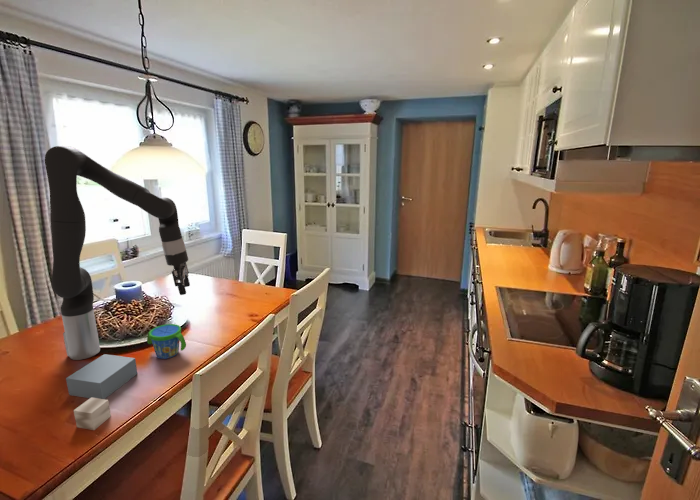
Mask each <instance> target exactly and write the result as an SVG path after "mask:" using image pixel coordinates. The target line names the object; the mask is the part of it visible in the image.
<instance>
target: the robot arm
mask: <svg viewBox="0 0 700 500" xmlns="http://www.w3.org/2000/svg"><path fill="white" fill-rule="evenodd" d="M44 166H45V171H46V176H47V181H48V188H49V207H50V208H49V209H50V213H49V214H50V218H49V219H50V233H51V247H52V248H51V249H52V256H53V258H52V259H53V261H52V273H51V289H52V290H53V292H54V294H55V295H56V296H58V297H59V298H62V303H61V305H60V313H61V318H62V319H61V320H62V324H63V330H64V331H63V333H62V335H63V341H64V344H65V345H64V346H65V350H66V355H67V357H69V359H71V360H73V361H79V360H80V361H81V360H85V359H89V358H91V357H95V356H96V355H97V354H99V353H100V351H101V346H100V340H99V334H98V329H97V322H96V317H95V312H94V311H95V310H94V296H95V295H94V290H93V287H94V286H93V280H92V277H91V275H90V273H89V272H88V270H86V269H85V268H84V267H81V266H80V265H81V264H80V261H81V259H80V258H81V254H82V253H81V252H82V251H83V246H84V243H85V239H86V230H87V226H86V214H85V211H84V207H83V205H82V203H81V200H80V197H79V195H78V188H77V186H78V185H77V181H78V177H81V178H84V179H86V180H90V181H91V182H94V183H96V184H98V185H99V186H101V187H103V188H104V189H105V190H107V191H108V192H110V193H111V194H113V195H115V196H116V197H118V198H119V199H122V200H124V201H126V202H128V203H130V204H132V205H134V206H137V207H138V208H140V209H141V210H143V211H144V212H146V213H147V214H149V215H151V216H153V217H154V218H157V219H158V222H159V227H158V233H159V236H160V237H159V238H160V241H161V244H162V245H161V247H162V250H163V254H164V258H165V261H166V265H167V266H170V267H172V266H173V270H171V275H172V279H173V282H174V286H175V287H177V290H178V292H179V295H180V296H184V295H186V294H187V290H186V287H190V286H191V284H190V279H189V273H190V272H189V269H188V264H187V262H188V261H189V257H188V252H187V249H186V245H185V242H184V239H183V236H182V232H181V228H180V224H179V216H178V209H177V206H176V204H175V201H173V200H172V198H169V197H159V196H157V195H155V194H154V193H151V191H150V190H149V189H147V188H146V187H144V186H142V185H141V184H138V183H137V182H134V181H132V180H130V179H128V178H126V177H124V176H122V175H120V174H118V173H116V172H114V171H113V170H110V169H109V168H107V167H105V166H103V165H102V164H101V163H99V162H97V161H95V160H94V159H92V157H90V156H88V155H87V154H85V153H84V152H82V151H80V149H77V148H76V147H72V146H63V145H57V146H52V147H50V148H49V149H47V151H46V153H45V155H44Z"/></svg>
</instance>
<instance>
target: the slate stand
mask: <svg viewBox="0 0 700 500" xmlns="http://www.w3.org/2000/svg"><path fill="white" fill-rule="evenodd" d="M136 375H138V369H137V362H136V358H135V357H128V356H121V355H114V354H105V353H104V354H103V355H100V356H99V357H98V358H95V359H94V360H93V361H91V362H90V363H87V364H86V365H85V366H82V368H80V369H78V370H77V371H75V372H74V373H72V374H70V375H69V376H67V377H65V381H66V386H67V391H68V395H69V396H73V397H80V398H85V399H86V398H87V399H90V398H91V397H92V398H99V399H105V400H106V399H107V398H108V397H109V396H111V395H112V394H113V393H114V392H116V391H117V390H118V389H119V388H122V386H124V385H125V384H126V383H127V382H129V381H130V380H132V379H133V378H134V377H135V376H136Z"/></svg>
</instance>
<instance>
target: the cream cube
mask: <svg viewBox="0 0 700 500" xmlns="http://www.w3.org/2000/svg"><path fill="white" fill-rule="evenodd" d="M109 403H110V402H109V399H106V398H105V399H99V398H92V397H91V398H87V400H86V401H84V402H82V404H80V405H78V407H76V408H75V409H73V415H74V419H75V423H76V428H78V429H86V430H91V431H95V430H96V429H98V428H99V427H100V426H101V425H103V424H104V422H106V421H107V420H108V419H109V418H110V417H112V413H111V408H110V404H109Z"/></svg>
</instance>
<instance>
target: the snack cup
mask: <svg viewBox="0 0 700 500" xmlns="http://www.w3.org/2000/svg"><path fill="white" fill-rule="evenodd" d="M181 332H182V327H181V326H180V325H179V324H176V323H167V324H161V325H158V326H156V327H154V328H152V329H151V330H149V331H148V332H147V338H146V340H147V341H146V342H147V344H148V345H152V346H153V349H154V352H155V356H156V358H158V359H160V360H161V359H164V360H167V359H171V358H173V357H176V356H177V355H178V353H179V350H180V352H181V351H184V350H185V349H186V347H187V343H186V339H185V337H184V335H183V334H182V333H181Z"/></svg>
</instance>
